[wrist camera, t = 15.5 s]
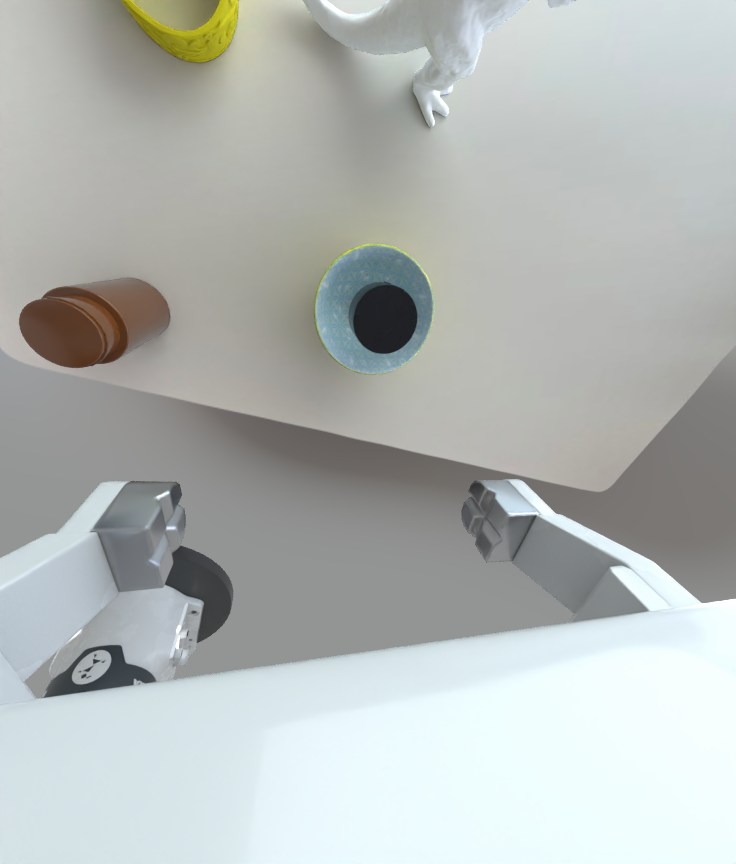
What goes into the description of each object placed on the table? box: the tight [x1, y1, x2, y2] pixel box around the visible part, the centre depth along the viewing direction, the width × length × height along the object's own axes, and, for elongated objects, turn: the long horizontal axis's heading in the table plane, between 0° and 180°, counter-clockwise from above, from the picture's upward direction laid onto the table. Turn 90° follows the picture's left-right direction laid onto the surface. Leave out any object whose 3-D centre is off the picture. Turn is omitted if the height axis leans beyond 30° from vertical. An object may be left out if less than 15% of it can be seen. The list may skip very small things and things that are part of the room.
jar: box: [19, 278, 170, 368], centre depth 25 cm, size 5×5×12 cm
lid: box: [348, 281, 417, 354], centre depth 28 cm, size 6×6×3 cm
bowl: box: [314, 244, 435, 375], centre depth 31 cm, size 11×12×6 cm
